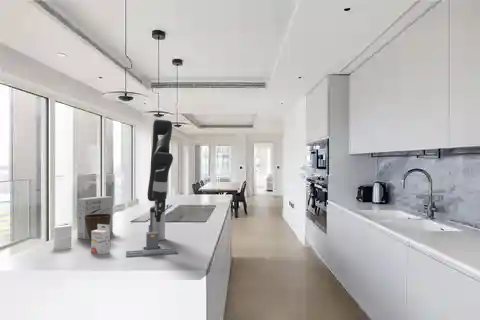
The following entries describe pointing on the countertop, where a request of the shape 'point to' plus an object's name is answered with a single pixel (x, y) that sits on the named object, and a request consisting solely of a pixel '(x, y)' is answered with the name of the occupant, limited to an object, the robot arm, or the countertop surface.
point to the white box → (62, 237)
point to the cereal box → (93, 212)
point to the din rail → (151, 252)
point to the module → (151, 240)
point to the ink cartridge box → (100, 240)
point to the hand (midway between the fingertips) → (157, 219)
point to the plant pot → (96, 221)
